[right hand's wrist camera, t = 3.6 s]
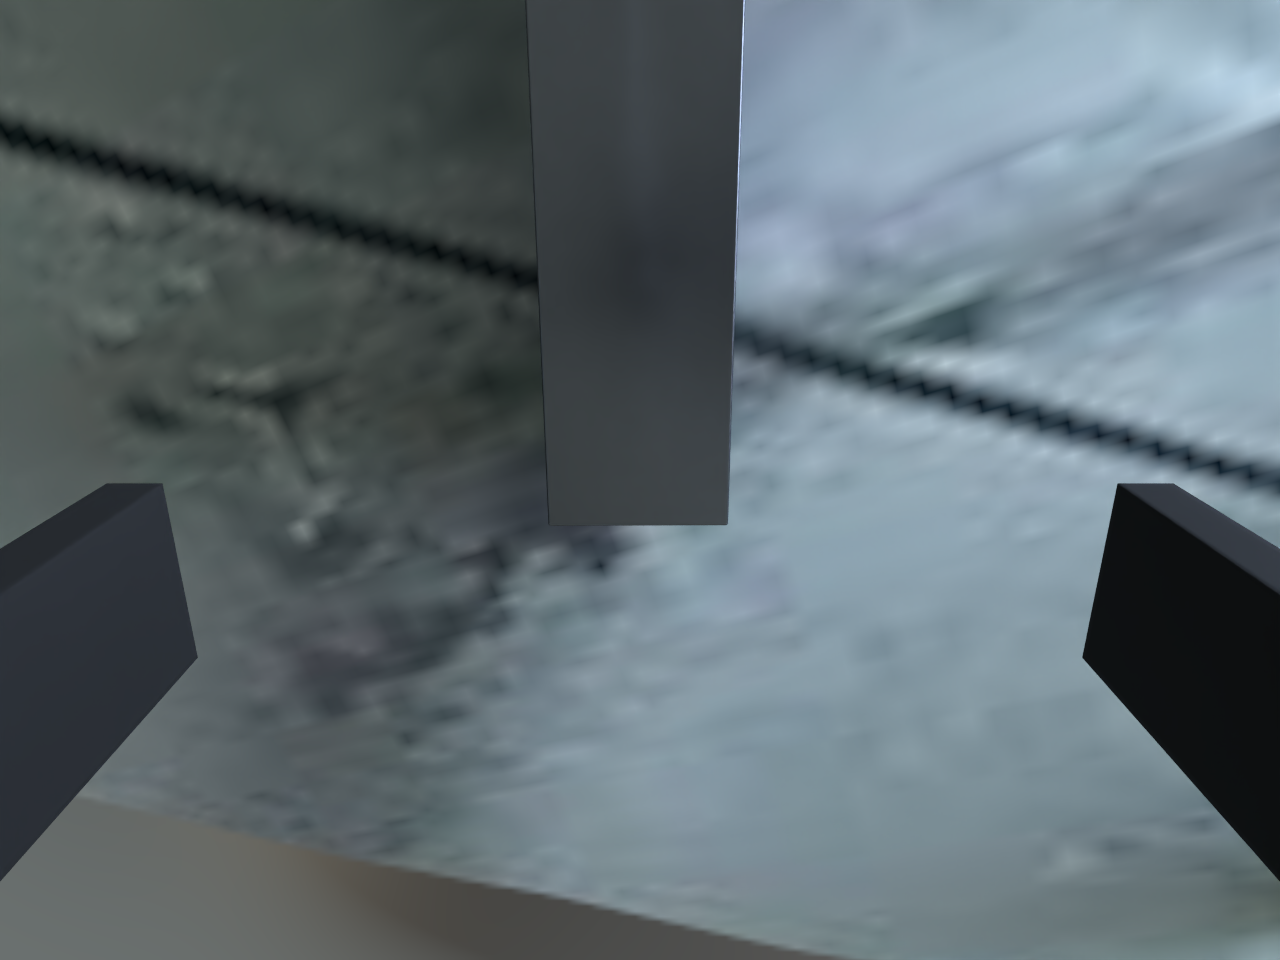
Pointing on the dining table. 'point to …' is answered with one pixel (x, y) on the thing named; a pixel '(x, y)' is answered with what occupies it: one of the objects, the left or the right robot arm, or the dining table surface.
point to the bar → (636, 253)
